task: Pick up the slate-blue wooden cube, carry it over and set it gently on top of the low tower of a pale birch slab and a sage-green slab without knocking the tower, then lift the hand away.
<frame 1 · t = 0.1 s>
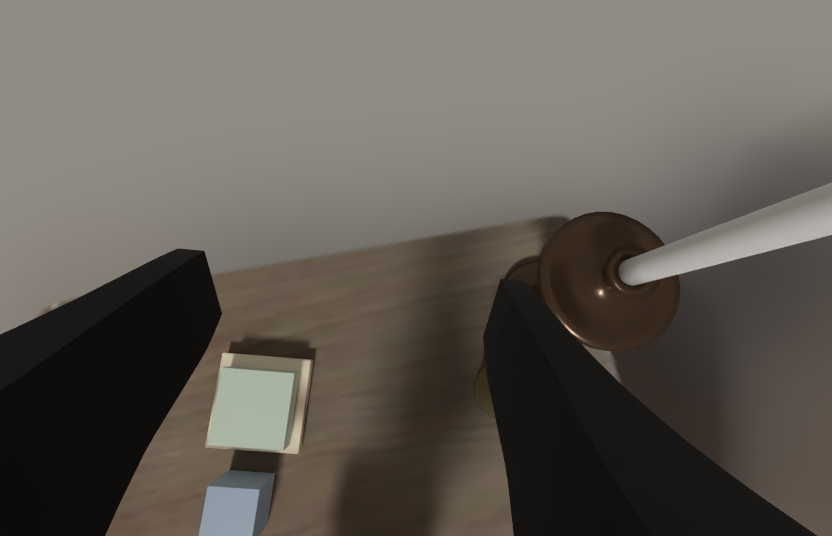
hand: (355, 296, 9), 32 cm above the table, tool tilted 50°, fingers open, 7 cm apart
birch slab: (266, 399, 39), on the table, touching green block
candlestick: (538, 301, 43), on the table
cork: (501, 389, 40), on the table
blue cube: (248, 496, 37), on the table
green block: (259, 405, 37), point 1 cm above the table, touching birch slab
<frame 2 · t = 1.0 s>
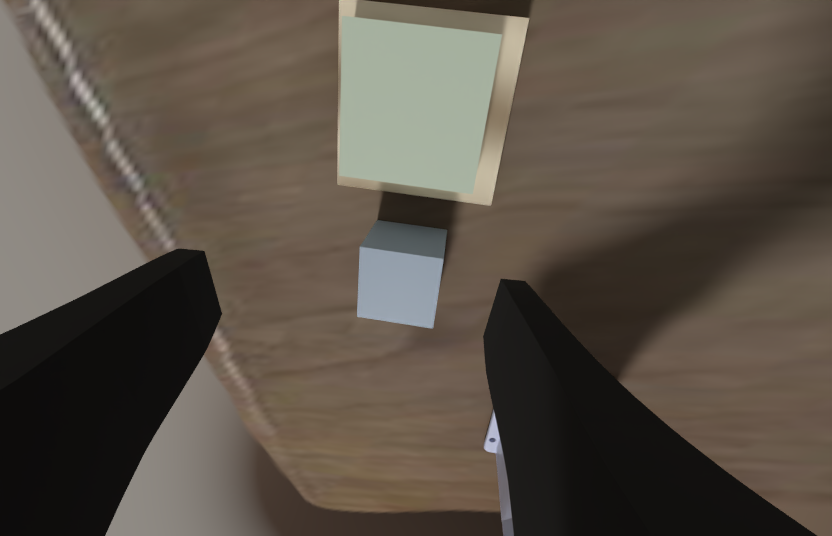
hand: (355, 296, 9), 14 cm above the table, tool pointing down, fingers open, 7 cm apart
birch slab: (425, 109, 21), on the table, touching green block
blue cube: (408, 256, 25), on the table
green block: (417, 109, 19), point 1 cm above the table, touching birch slab
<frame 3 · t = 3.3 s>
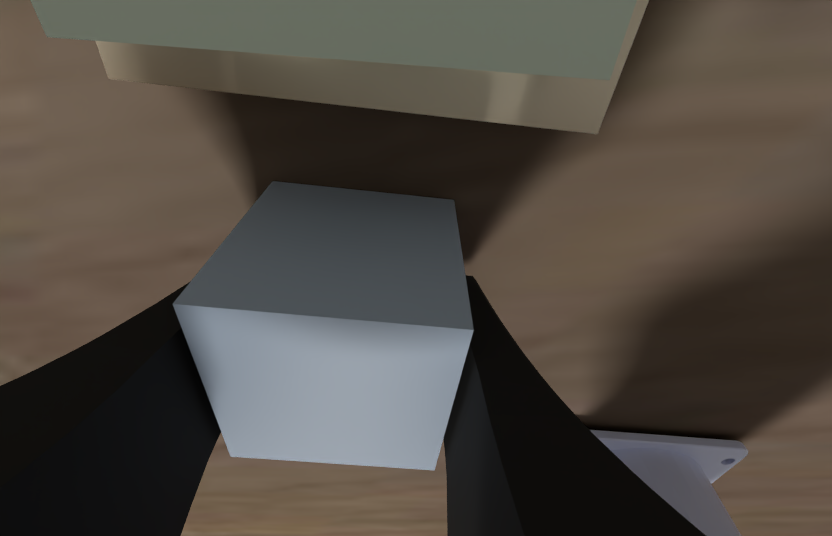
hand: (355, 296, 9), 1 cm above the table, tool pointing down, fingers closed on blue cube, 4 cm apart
blue cube: (362, 263, 11), on the table, touching gripper
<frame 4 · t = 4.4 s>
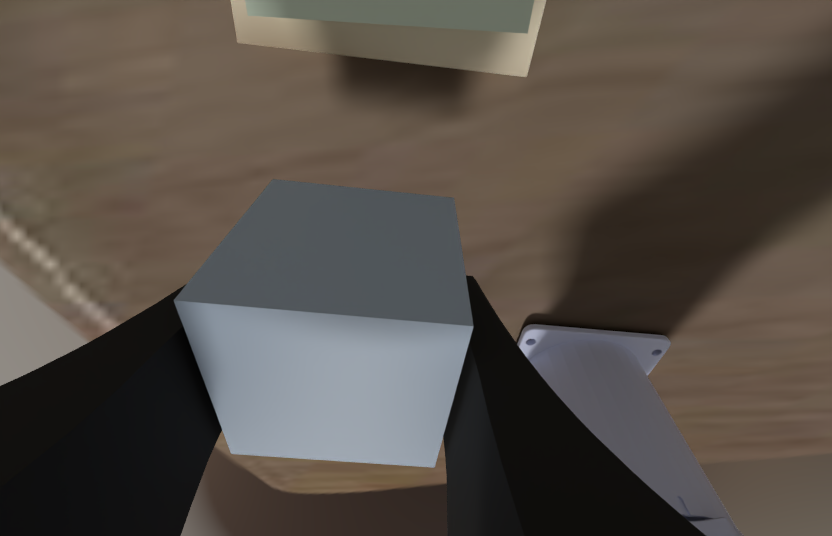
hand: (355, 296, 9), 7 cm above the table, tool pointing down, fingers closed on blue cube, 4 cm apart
blue cube: (362, 261, 11), point 6 cm above the table, touching gripper
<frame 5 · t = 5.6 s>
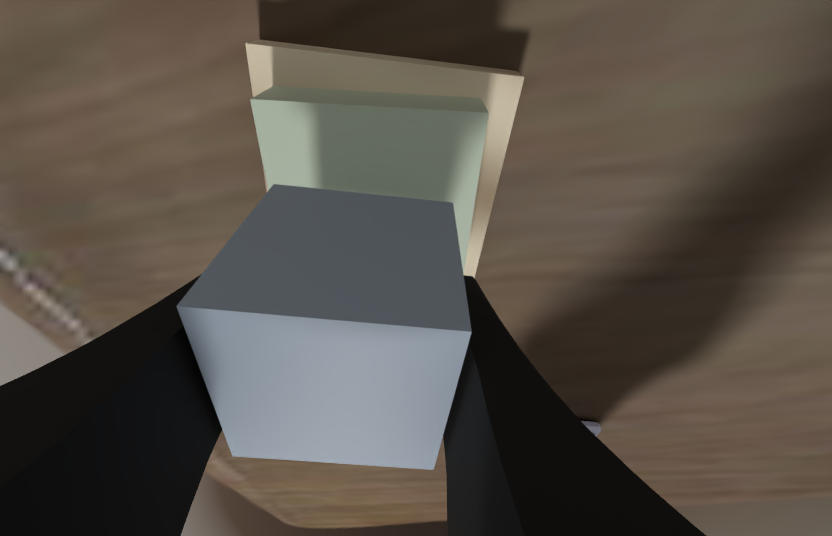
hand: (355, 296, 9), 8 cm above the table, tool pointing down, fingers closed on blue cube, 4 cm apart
birch slab: (385, 170, 16), on the table, touching green block
blue cube: (362, 265, 11), point 6 cm above the table, touching gripper
green block: (378, 188, 15), point 1 cm above the table, touching birch slab
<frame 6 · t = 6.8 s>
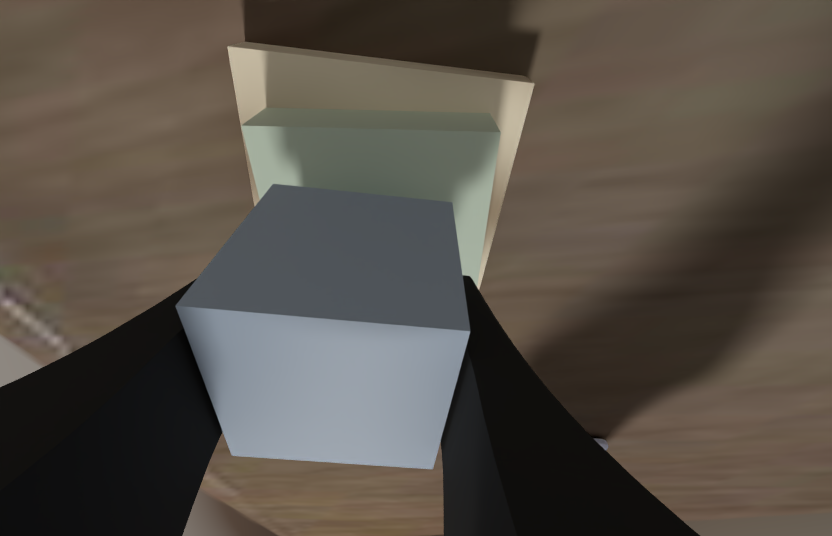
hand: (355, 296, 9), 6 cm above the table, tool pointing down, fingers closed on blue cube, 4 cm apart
birch slab: (382, 181, 15), on the table, touching green block
blue cube: (362, 265, 11), point 5 cm above the table, touching gripper
green block: (381, 210, 14), point 1 cm above the table, touching birch slab
when the fingers open (6 cm above the table, at t = 7.0 s): blue cube drops 2 cm, point 3 cm above the table.
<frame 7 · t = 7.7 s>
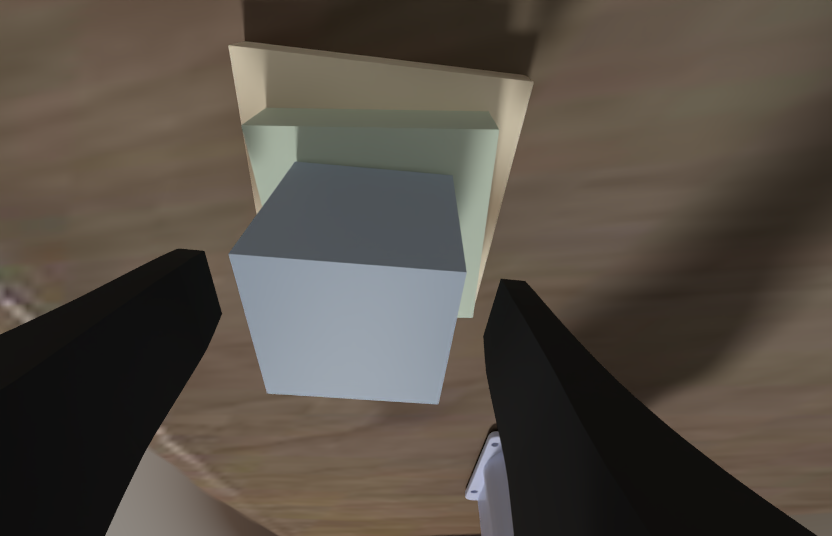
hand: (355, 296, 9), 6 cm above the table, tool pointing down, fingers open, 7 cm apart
birch slab: (382, 180, 15), on the table, touching green block
blue cube: (373, 234, 12), point 3 cm above the table
green block: (381, 209, 14), point 1 cm above the table, touching birch slab
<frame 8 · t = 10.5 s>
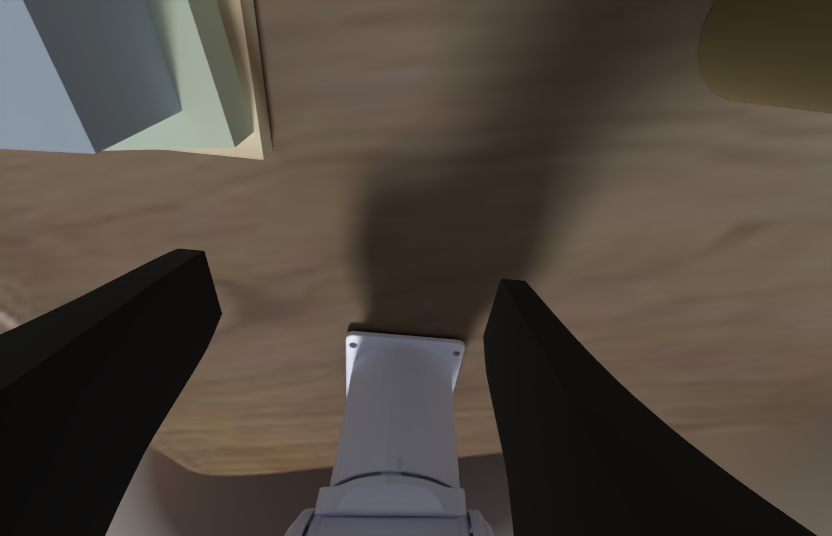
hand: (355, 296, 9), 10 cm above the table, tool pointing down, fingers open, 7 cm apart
birch slab: (156, 27, 16), on the table, touching green block
cork: (779, 19, 15), on the table
blue cube: (91, 35, 12), point 3 cm above the table, touching green block
green block: (136, 40, 14), point 1 cm above the table, touching birch slab, blue cube
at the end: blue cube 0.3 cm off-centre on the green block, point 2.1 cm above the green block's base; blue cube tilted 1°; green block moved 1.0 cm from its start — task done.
